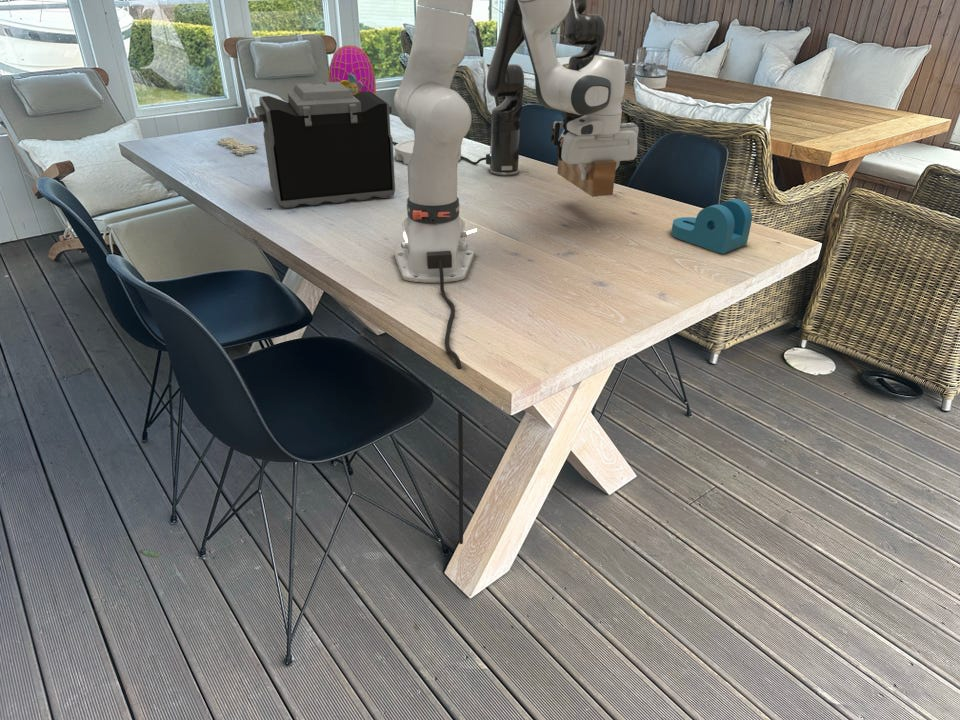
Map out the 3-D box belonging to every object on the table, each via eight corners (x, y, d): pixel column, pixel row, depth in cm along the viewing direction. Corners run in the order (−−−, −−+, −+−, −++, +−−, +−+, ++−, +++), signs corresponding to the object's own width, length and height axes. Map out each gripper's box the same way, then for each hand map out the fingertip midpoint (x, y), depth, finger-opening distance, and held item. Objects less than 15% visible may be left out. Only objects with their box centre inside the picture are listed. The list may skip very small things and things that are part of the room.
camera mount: (746, 244, 173) (755, 203, 168) (722, 254, 167) (730, 212, 162) (687, 225, 185) (693, 186, 180) (662, 233, 179) (668, 194, 174)
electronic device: (382, 177, 221) (376, 78, 206) (401, 197, 203) (396, 90, 188) (265, 188, 209) (249, 84, 194) (274, 210, 192) (257, 97, 176)
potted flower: (342, 144, 260) (336, 73, 247) (351, 139, 266) (346, 70, 254) (365, 146, 257) (360, 74, 245) (374, 141, 264) (369, 71, 251)
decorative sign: (265, 149, 247) (238, 153, 242) (266, 152, 248) (239, 156, 243) (238, 135, 265) (212, 139, 260) (239, 138, 266) (213, 141, 260)
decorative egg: (362, 116, 305) (357, 42, 290) (386, 123, 292) (382, 46, 277) (324, 121, 294) (316, 45, 279) (347, 129, 281) (340, 49, 266)
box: (612, 194, 180) (616, 161, 175) (592, 196, 178) (595, 163, 174) (576, 172, 198) (578, 141, 194) (557, 173, 196) (559, 142, 192)
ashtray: (454, 167, 232) (454, 155, 230) (388, 164, 235) (387, 152, 233) (466, 151, 252) (466, 140, 250) (404, 148, 255) (404, 137, 253)
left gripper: (633, 119, 179) (626, 172, 186) (561, 123, 173) (557, 178, 180) (645, 124, 173) (638, 179, 180) (571, 128, 168) (567, 184, 175)
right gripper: (597, 94, 188) (591, 154, 196) (549, 96, 184) (545, 157, 193) (609, 98, 182) (603, 160, 190) (560, 101, 178) (556, 164, 186)
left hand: (597, 178), depth 180 cm, fingers closed on box, 6 cm apart
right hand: (574, 159), depth 191 cm, fingers open, 8 cm apart
